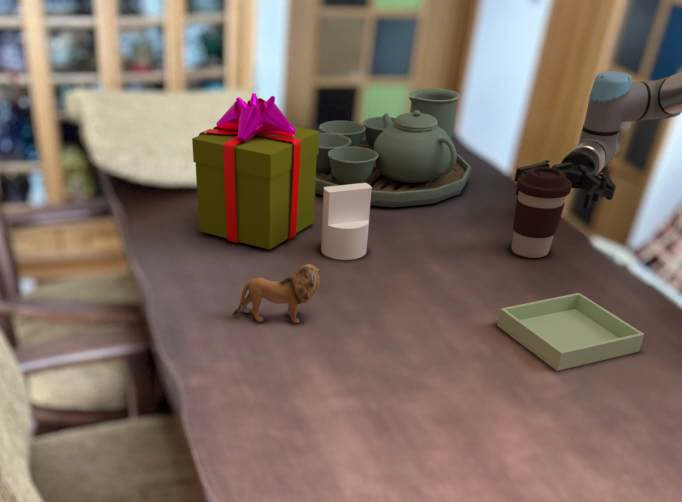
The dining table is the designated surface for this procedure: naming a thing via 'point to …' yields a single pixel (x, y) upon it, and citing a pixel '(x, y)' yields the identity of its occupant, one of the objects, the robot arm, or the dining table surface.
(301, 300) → the lion figurine
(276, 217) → the gift box
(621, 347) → the tray
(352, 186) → the cylinder with rectangular tab
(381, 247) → the dining table surface
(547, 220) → the coffee cup
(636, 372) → the dining table surface
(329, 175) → the tea set
